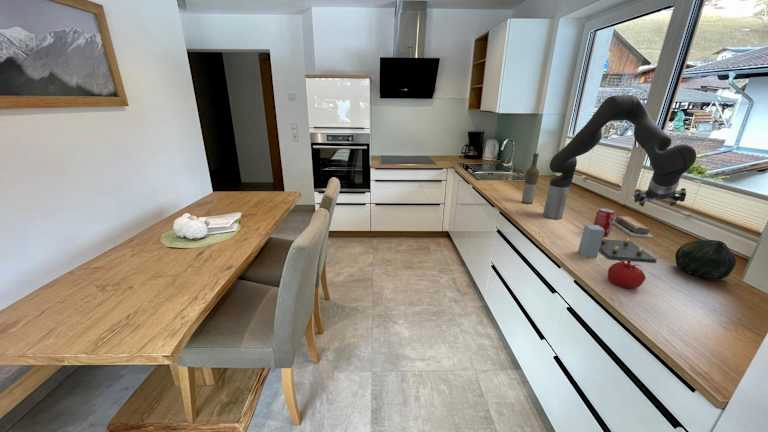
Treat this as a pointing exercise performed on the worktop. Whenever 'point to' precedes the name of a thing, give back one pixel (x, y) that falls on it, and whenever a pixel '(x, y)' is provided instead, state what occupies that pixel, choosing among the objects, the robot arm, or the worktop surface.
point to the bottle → (530, 181)
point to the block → (591, 240)
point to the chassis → (624, 250)
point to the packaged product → (631, 227)
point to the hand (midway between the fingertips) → (656, 204)
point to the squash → (706, 259)
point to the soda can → (605, 219)
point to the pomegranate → (626, 274)
